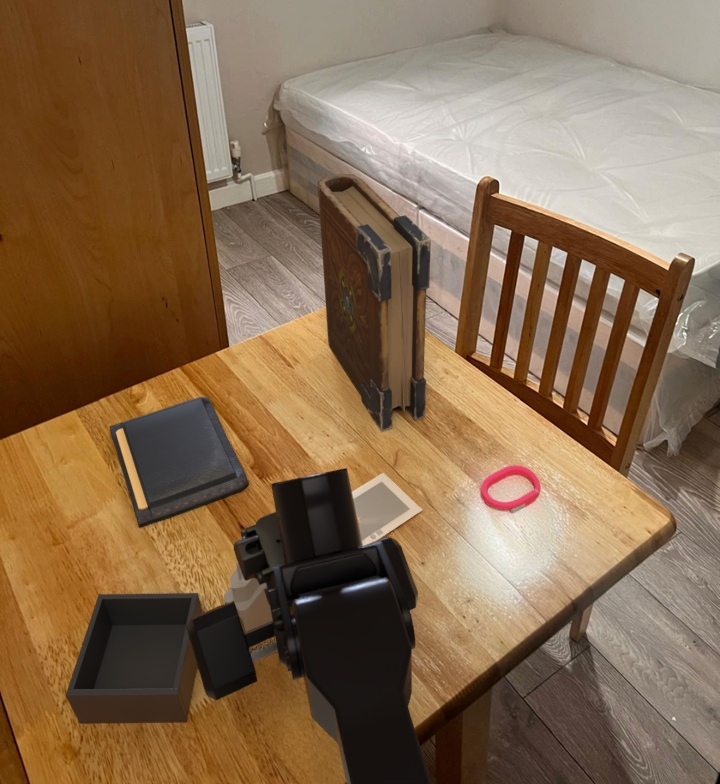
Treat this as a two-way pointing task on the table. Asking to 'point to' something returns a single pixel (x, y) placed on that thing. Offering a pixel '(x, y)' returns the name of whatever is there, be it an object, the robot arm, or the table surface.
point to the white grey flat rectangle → (381, 508)
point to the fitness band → (517, 503)
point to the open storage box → (136, 660)
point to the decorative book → (375, 296)
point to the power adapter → (249, 600)
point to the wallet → (176, 460)
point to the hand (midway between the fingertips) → (288, 607)
